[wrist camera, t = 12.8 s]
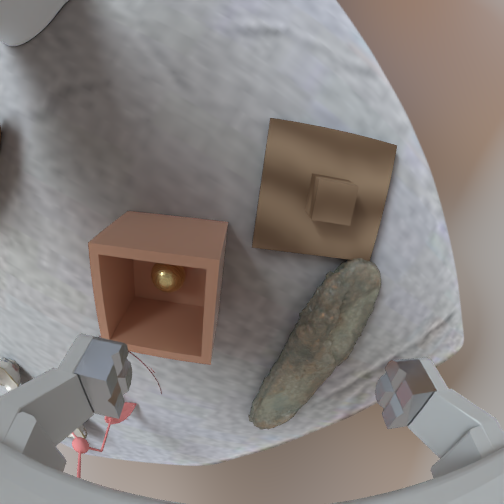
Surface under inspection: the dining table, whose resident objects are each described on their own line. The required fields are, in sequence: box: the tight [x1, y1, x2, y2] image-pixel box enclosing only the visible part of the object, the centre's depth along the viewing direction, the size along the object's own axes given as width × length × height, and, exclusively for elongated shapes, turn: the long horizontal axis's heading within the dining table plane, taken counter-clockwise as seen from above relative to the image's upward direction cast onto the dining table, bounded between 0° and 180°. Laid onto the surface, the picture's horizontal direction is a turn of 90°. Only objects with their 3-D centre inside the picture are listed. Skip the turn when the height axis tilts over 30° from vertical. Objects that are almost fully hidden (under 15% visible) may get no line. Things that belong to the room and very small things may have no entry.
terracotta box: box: [88, 211, 228, 365], centre depth 31 cm, size 12×12×10 cm
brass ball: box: [151, 263, 186, 293], centre depth 33 cm, size 4×4×4 cm
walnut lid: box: [252, 118, 397, 261], centre depth 30 cm, size 14×14×4 cm
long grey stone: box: [248, 258, 381, 429], centre depth 40 cm, size 35×5×10 cm
